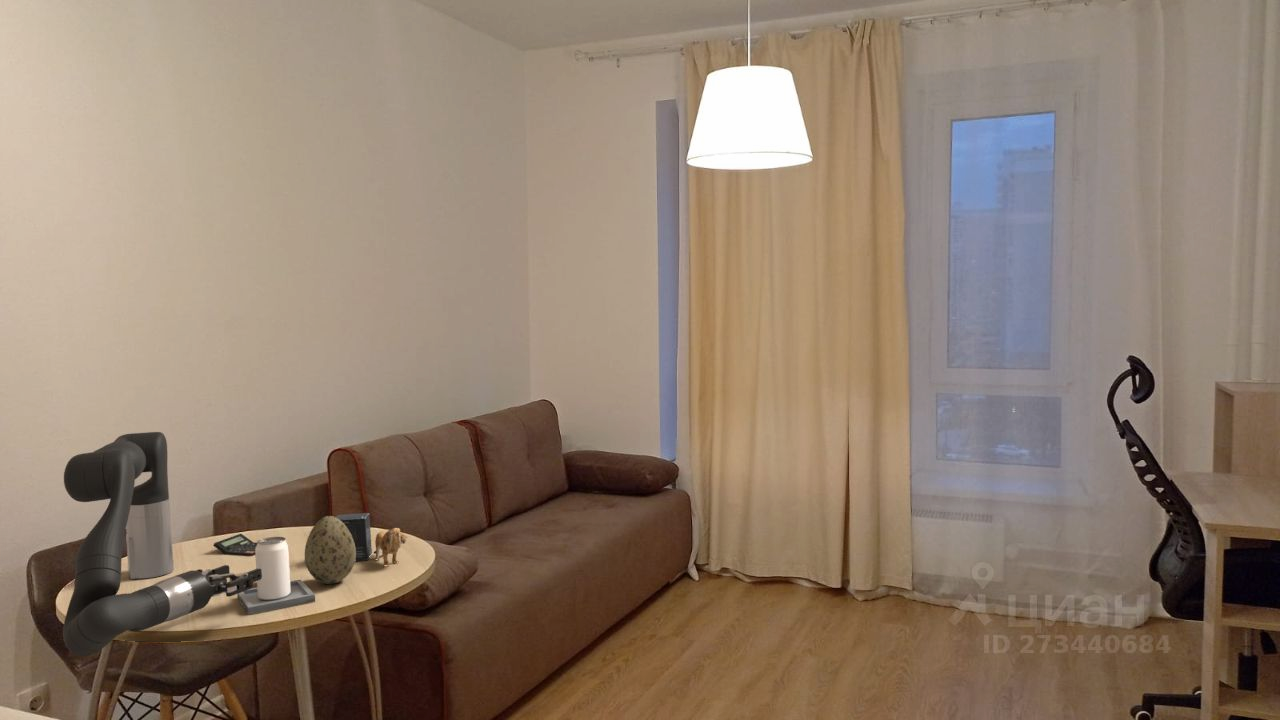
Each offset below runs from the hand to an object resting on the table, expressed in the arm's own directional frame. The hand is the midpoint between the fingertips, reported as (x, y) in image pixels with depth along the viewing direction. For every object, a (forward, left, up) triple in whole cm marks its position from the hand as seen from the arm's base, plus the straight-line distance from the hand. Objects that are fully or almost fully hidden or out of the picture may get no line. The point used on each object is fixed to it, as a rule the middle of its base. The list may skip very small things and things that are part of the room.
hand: (244, 571), depth 185 cm
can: (+6, +5, -8) cm, 11 cm away
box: (+29, +26, -9) cm, 40 cm away
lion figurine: (+35, +18, -9) cm, 40 cm away
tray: (+7, +5, -8) cm, 12 cm away
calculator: (+9, +52, -9) cm, 53 cm away
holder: (+6, +20, -8) cm, 22 cm away
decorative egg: (+19, +9, -9) cm, 23 cm away
